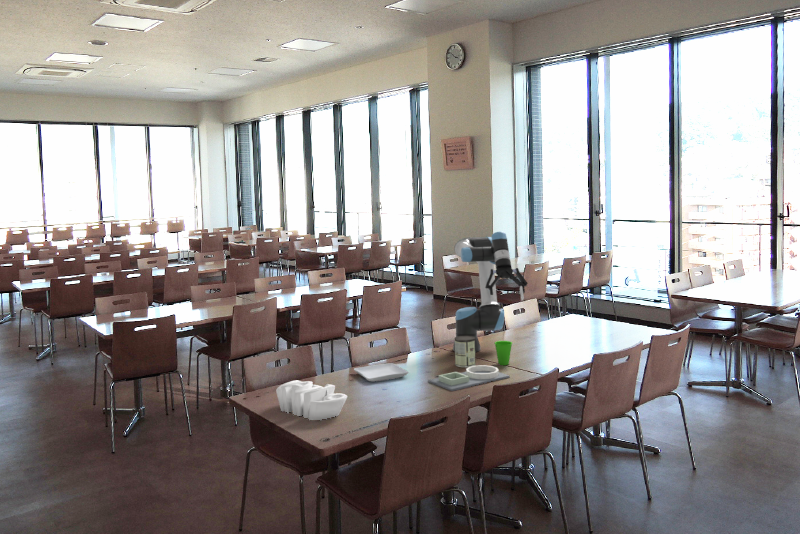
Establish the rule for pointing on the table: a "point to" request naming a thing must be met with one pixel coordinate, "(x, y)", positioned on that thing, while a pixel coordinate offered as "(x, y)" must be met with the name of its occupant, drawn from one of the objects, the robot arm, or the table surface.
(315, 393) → the wavy white extrusion
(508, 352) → the cup
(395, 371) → the salad plate
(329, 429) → the table surface
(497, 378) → the sorting board
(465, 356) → the coffee can
